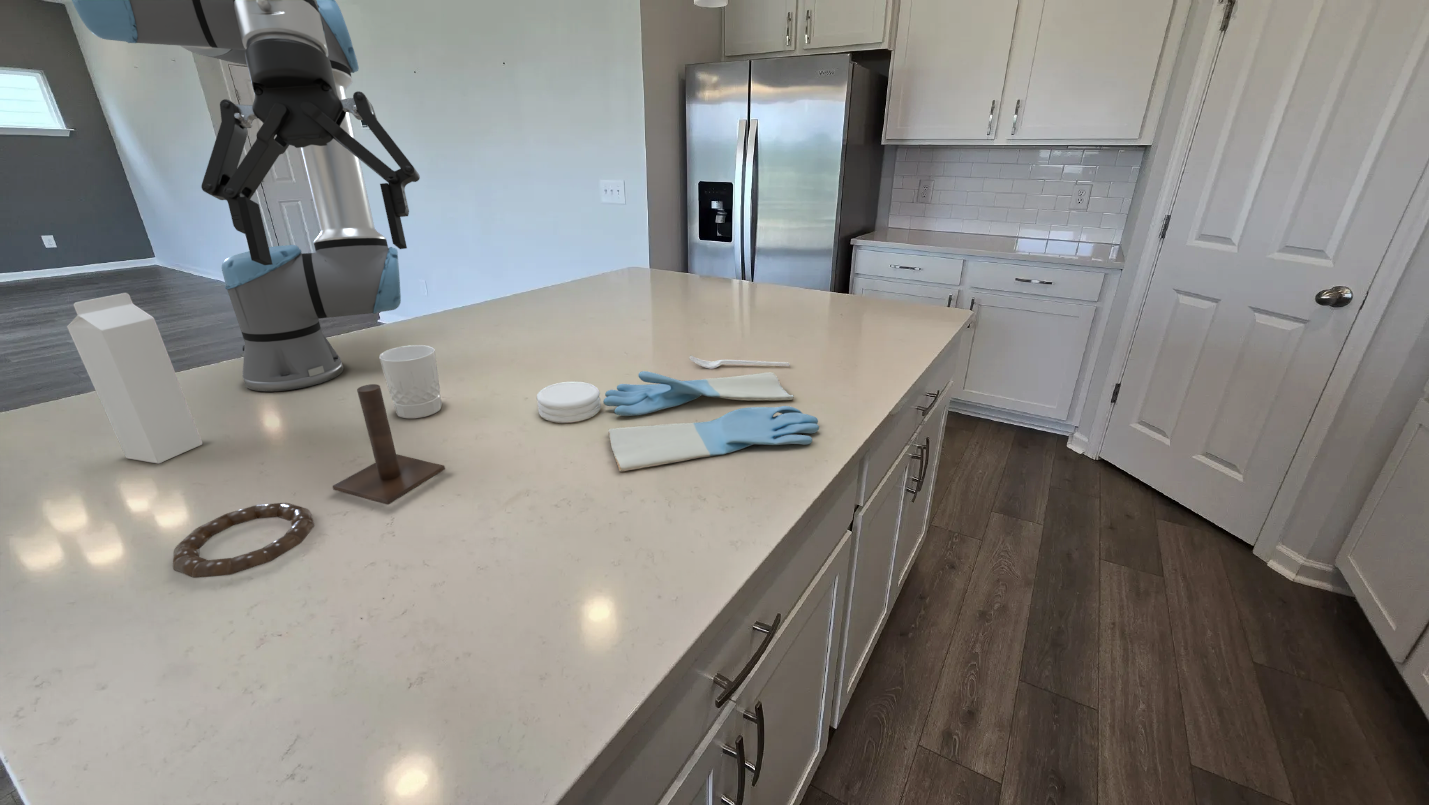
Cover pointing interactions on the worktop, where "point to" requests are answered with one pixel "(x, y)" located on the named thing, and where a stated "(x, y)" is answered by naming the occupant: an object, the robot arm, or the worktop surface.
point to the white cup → (412, 380)
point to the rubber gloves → (703, 437)
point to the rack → (384, 458)
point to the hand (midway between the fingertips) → (333, 254)
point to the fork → (733, 362)
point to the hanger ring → (196, 566)
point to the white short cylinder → (568, 402)
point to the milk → (133, 378)
